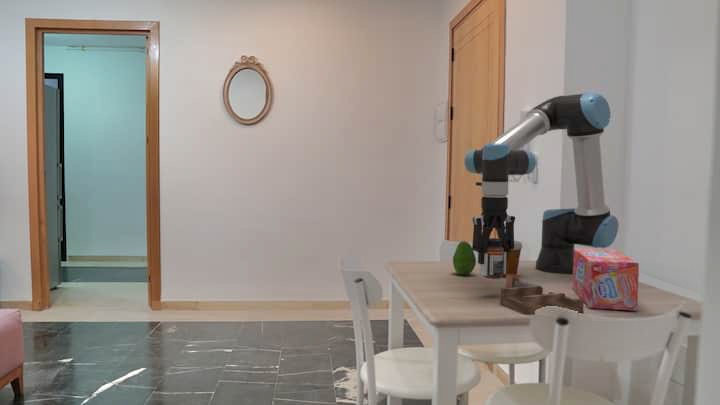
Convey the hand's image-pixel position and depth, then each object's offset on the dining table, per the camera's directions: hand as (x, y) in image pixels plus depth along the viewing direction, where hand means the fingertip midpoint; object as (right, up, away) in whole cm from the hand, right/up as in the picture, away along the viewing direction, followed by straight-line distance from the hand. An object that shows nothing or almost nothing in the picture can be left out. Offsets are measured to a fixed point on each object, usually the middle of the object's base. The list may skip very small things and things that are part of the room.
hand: (492, 273), depth 162 cm
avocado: (-3, -5, +31) cm, 31 cm away
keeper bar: (+10, -7, +4) cm, 13 cm away
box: (+32, -8, 0) cm, 33 cm away
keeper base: (+11, -8, -12) cm, 18 cm away
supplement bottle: (0, -1, 0) cm, 1 cm away
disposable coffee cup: (+13, -5, +31) cm, 33 cm away
